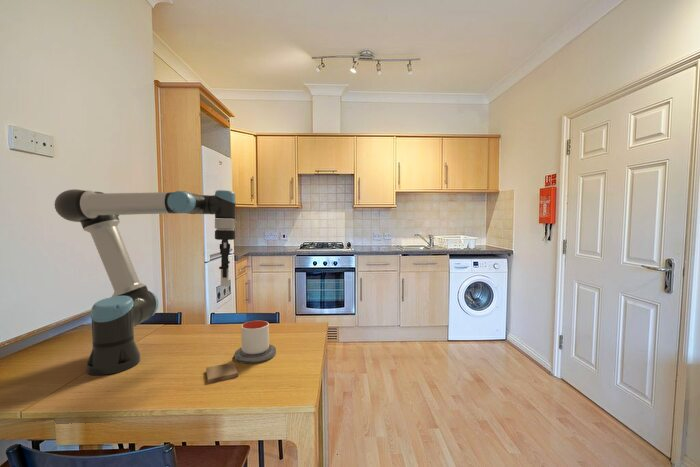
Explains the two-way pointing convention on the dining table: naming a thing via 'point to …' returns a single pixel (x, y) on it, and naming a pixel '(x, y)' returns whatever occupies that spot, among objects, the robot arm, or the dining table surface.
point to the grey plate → (255, 356)
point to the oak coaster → (221, 372)
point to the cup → (255, 337)
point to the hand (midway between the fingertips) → (224, 282)
